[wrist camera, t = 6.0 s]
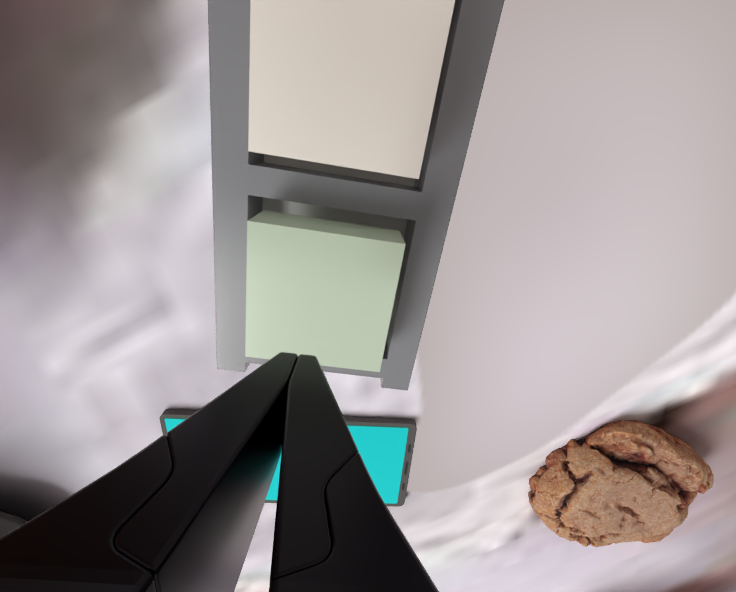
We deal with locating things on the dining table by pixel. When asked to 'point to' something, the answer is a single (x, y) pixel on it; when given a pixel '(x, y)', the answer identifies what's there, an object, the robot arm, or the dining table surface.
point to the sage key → (320, 289)
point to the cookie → (619, 485)
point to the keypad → (340, 182)
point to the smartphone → (375, 445)
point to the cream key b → (346, 80)
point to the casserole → (9, 523)
